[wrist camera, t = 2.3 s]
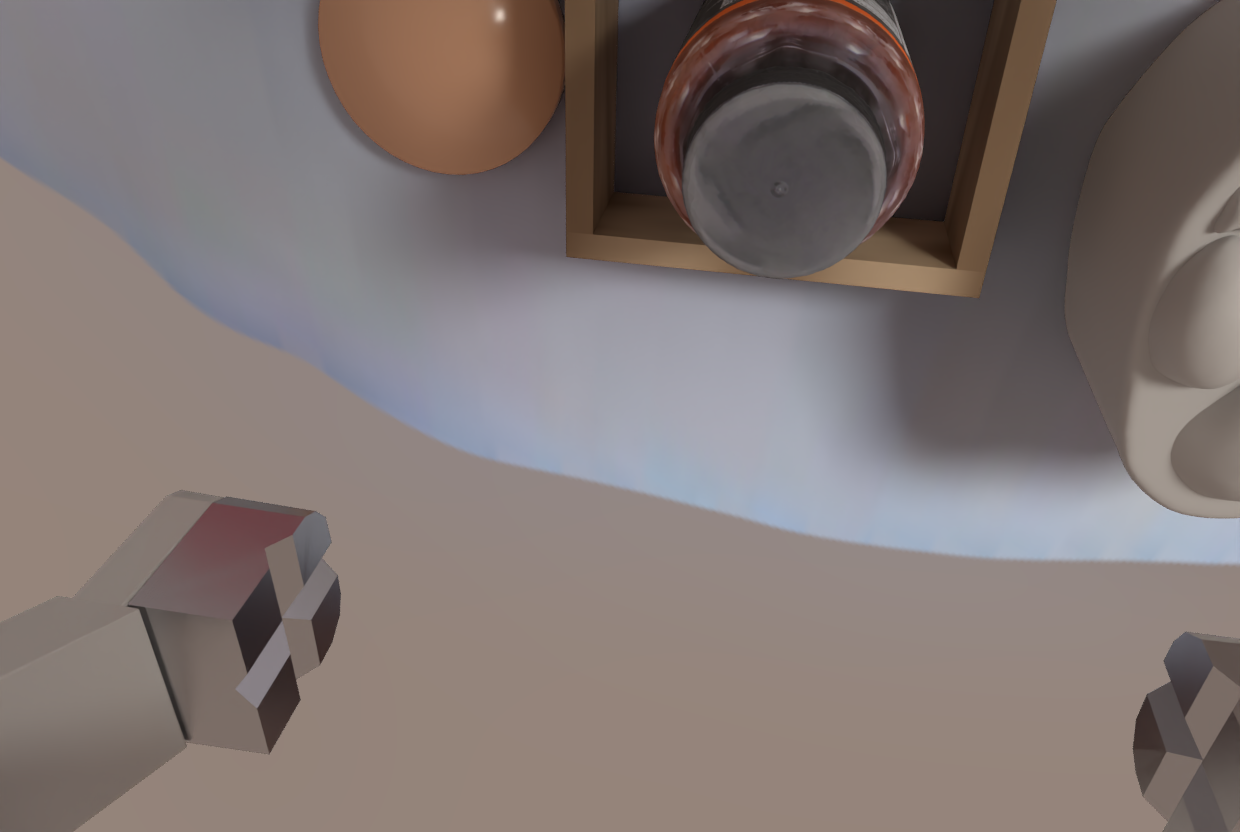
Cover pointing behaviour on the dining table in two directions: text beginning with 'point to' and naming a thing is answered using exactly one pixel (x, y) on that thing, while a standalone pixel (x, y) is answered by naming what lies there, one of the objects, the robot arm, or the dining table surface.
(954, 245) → the cold frame
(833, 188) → the supplement bottle
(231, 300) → the dining table surface
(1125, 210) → the lumpy-topped squat cylinder
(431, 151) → the saucer
